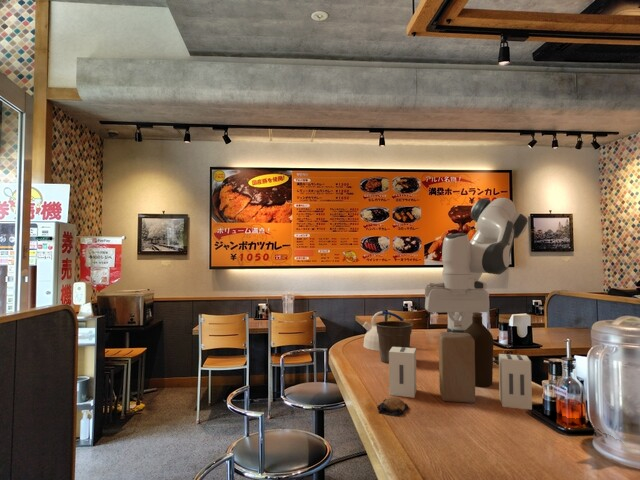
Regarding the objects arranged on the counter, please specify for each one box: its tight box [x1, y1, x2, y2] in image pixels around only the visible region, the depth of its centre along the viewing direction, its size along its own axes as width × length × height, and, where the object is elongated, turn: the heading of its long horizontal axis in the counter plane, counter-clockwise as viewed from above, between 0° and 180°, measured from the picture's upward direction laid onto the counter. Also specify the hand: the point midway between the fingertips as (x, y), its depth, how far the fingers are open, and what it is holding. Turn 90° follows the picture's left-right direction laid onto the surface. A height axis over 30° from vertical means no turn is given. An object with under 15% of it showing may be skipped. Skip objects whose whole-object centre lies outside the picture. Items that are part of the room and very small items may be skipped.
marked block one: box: [388, 347, 417, 398], centre depth 137 cm, size 8×8×14 cm
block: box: [438, 331, 476, 404], centre depth 132 cm, size 10×10×20 cm
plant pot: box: [375, 320, 414, 364], centre depth 179 cm, size 16×16×16 cm
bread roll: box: [376, 396, 409, 418], centre depth 121 cm, size 11×8×4 cm
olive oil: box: [464, 312, 495, 388], centre depth 148 cm, size 11×11×25 cm
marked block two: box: [498, 353, 533, 411], centre depth 126 cm, size 8×8×14 cm
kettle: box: [362, 310, 404, 352], centre depth 208 cm, size 20×21×18 cm
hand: (457, 326), depth 132 cm, fingers closed
